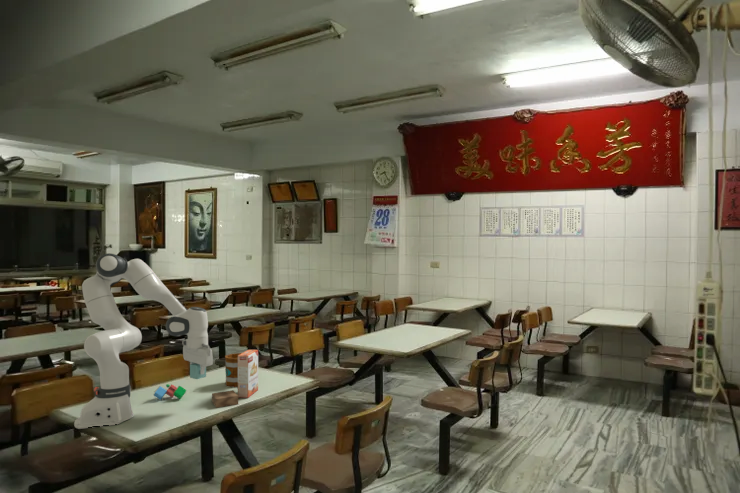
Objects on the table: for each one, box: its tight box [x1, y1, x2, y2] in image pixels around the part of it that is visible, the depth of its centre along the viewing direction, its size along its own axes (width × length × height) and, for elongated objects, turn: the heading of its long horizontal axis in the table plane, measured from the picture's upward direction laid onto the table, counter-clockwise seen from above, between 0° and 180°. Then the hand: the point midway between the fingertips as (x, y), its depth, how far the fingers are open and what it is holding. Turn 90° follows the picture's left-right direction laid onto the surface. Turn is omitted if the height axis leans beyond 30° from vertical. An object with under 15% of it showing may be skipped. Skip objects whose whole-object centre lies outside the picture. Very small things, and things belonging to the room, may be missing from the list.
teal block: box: [189, 363, 207, 380], centre depth 225 cm, size 5×5×6 cm
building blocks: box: [153, 383, 187, 400], centre depth 239 cm, size 8×8×12 cm
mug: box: [224, 352, 242, 388], centre depth 262 cm, size 20×14×15 cm
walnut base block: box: [211, 389, 239, 409], centre depth 232 cm, size 10×10×4 cm
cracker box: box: [237, 349, 259, 399], centre depth 246 cm, size 14×6×21 cm, turn 173°
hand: (198, 372), depth 225 cm, fingers closed on teal block, 5 cm apart
